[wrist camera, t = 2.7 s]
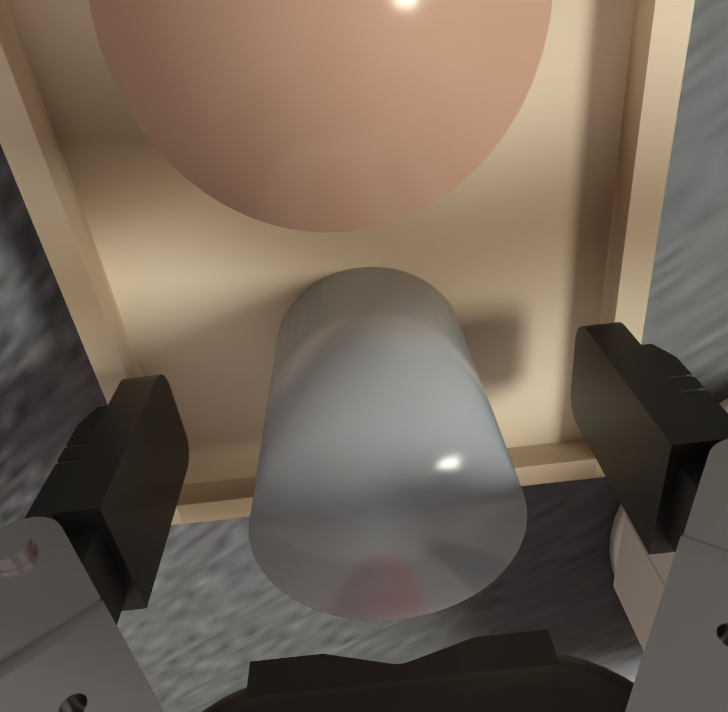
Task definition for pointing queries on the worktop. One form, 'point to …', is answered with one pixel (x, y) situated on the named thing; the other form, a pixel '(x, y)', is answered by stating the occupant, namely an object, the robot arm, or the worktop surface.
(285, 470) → the gray metal cylinder
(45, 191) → the parts tray
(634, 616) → the bowl
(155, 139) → the beige cylinder
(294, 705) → the robot arm
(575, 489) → the worktop surface
